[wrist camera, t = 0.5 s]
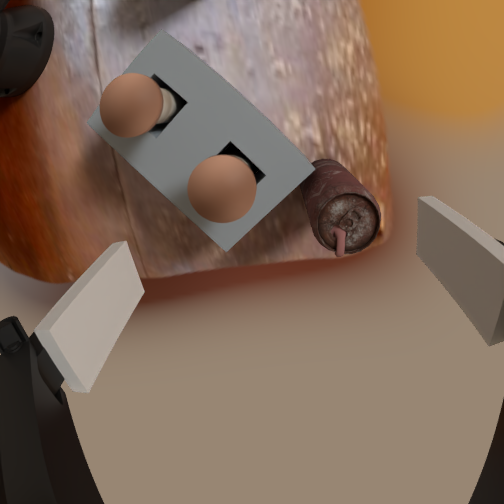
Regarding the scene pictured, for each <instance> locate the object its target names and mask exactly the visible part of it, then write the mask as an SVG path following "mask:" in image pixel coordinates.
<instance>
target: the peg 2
mask: <svg viewBox="0 0 504 504" xmlns="http://www.w3.org/2000/svg"><path fill="white" fill-rule="evenodd" d="M256 190H257V185H256V179H255V176H254V174H253V165H252V162H251V160H250V159H249V158H248V157H247V156H246V155H245V154H243V153H240V152H231V153H228V154H226V155H224V154H221V155H214V156H211V157H209V158H207V159H205V160H204V161H202V162H201V163H199V164H198V165H197V166H196V167H195V169H194V170H193V171H192V173H191V175H190V177H189V180H188V186H187V191H188V197H189V200H190V203H191V205H192V206H193V208H194V209H195V211H196V212H197V213H198V214H199V215H201V216H202V217H203V218H205V219H207V220H209V221H212V222H216V223H229V222H233V221H236V220H238V219H240V218H241V217H243V216H244V215H245V214H246V213H247V212H248V211H249V210H250V209H251V207H252V205H253V203H254V200H255V196H256Z"/></svg>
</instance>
